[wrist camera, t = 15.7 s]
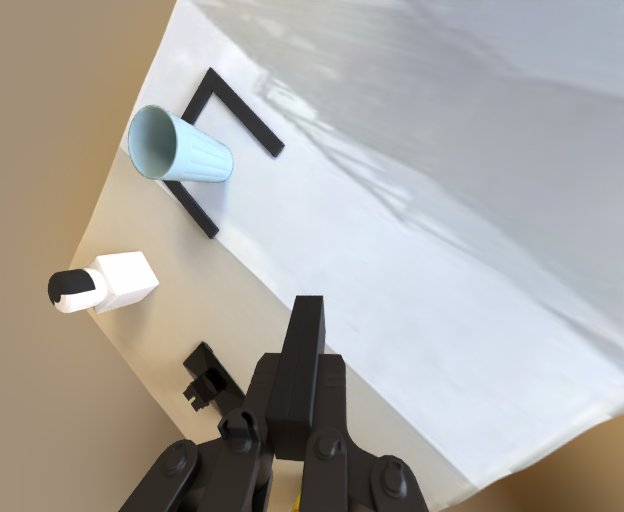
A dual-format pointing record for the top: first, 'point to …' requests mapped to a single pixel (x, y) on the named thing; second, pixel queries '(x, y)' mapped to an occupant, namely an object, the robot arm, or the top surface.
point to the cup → (175, 149)
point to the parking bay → (246, 117)
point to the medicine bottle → (103, 283)
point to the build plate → (211, 382)
